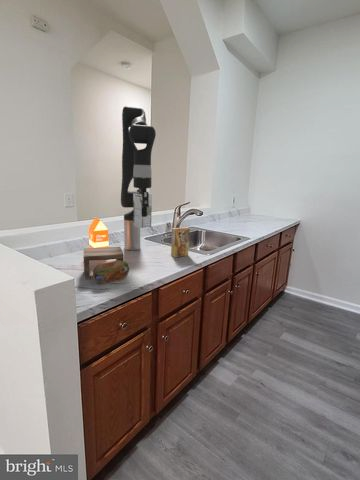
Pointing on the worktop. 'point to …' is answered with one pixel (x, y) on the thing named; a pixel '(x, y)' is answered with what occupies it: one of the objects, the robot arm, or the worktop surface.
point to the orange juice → (98, 234)
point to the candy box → (180, 242)
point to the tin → (110, 271)
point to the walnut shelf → (100, 256)
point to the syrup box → (137, 217)
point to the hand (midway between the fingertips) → (142, 214)
